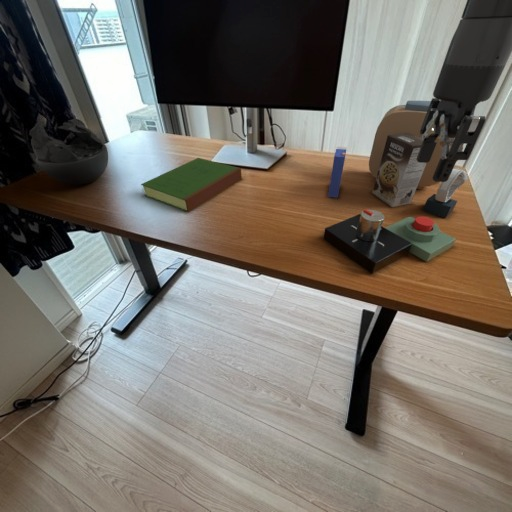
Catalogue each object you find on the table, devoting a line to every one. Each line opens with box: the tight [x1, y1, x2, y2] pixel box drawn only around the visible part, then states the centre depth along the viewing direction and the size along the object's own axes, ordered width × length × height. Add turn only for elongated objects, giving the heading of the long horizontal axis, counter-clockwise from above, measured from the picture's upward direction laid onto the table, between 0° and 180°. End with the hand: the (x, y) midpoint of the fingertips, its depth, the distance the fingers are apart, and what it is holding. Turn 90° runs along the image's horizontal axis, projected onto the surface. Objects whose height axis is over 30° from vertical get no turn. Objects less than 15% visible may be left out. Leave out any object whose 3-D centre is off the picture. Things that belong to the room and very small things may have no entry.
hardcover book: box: [140, 157, 243, 213], centre depth 84 cm, size 25×19×4 cm
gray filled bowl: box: [28, 118, 109, 186], centre depth 85 cm, size 20×20×19 cm
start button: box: [413, 216, 435, 232], centre depth 57 cm, size 4×4×2 cm
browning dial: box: [356, 208, 385, 241], centre depth 56 cm, size 4×4×5 cm
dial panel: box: [322, 213, 412, 275], centre depth 58 cm, size 14×11×3 cm
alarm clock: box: [368, 100, 452, 190], centre depth 76 cm, size 21×10×22 cm, turn 63°
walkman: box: [327, 146, 348, 199], centre depth 76 cm, size 8×3×12 cm, turn 162°
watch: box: [422, 167, 469, 219], centre depth 66 cm, size 6×8×11 cm
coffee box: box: [371, 133, 426, 208], centre depth 70 cm, size 9×6×16 cm
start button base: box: [385, 215, 457, 263], centre depth 59 cm, size 11×9×4 cm
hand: (430, 170), depth 49 cm, fingers open, 8 cm apart
